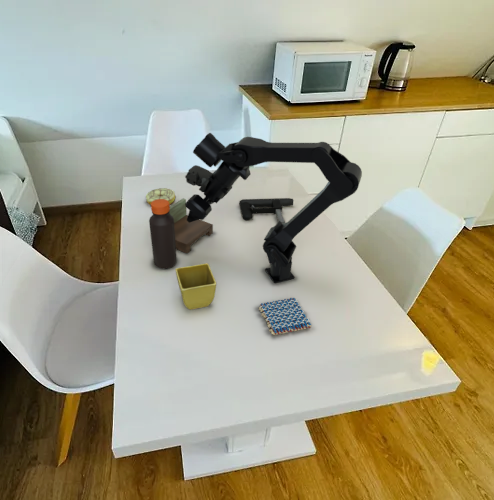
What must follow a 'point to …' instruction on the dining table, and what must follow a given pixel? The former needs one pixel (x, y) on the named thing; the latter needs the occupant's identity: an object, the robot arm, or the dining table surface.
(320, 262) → the dining table surface
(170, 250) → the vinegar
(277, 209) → the black toy gun
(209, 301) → the flower pot
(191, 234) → the brown wooden stand
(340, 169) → the robot arm
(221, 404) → the dining table surface
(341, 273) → the dining table surface
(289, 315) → the woven mat
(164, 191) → the yellow flat round disc
